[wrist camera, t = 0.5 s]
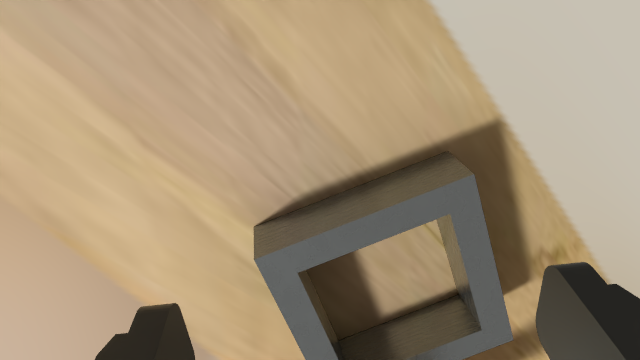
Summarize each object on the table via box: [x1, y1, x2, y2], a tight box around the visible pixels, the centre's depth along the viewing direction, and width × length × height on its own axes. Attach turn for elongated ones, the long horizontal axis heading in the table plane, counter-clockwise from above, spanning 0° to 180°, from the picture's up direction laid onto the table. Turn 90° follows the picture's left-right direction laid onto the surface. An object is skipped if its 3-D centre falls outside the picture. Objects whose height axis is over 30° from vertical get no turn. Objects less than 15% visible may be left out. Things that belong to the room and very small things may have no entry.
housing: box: [254, 151, 513, 360], centre depth 32 cm, size 14×14×4 cm
